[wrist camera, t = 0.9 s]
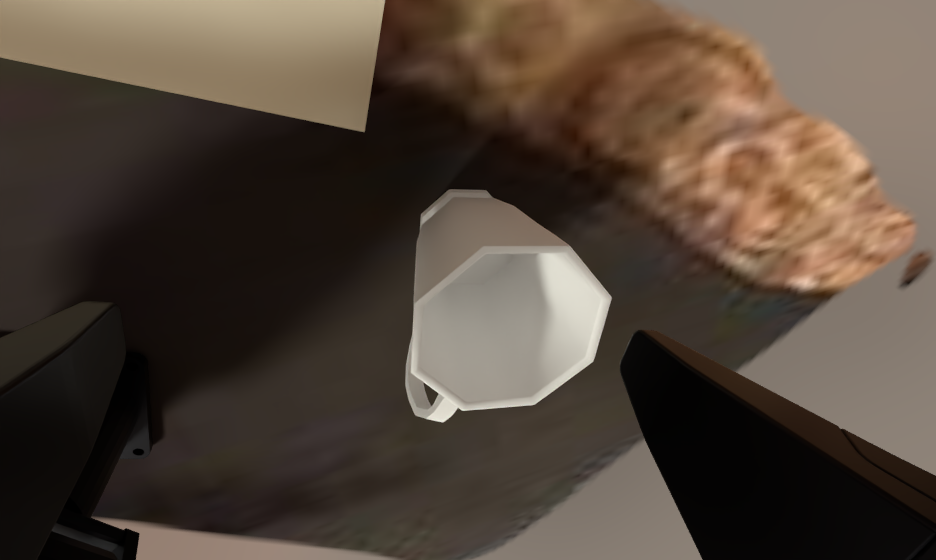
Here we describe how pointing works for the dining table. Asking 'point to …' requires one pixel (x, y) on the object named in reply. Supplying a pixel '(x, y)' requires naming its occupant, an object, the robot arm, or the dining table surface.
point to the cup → (496, 308)
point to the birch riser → (212, 49)
